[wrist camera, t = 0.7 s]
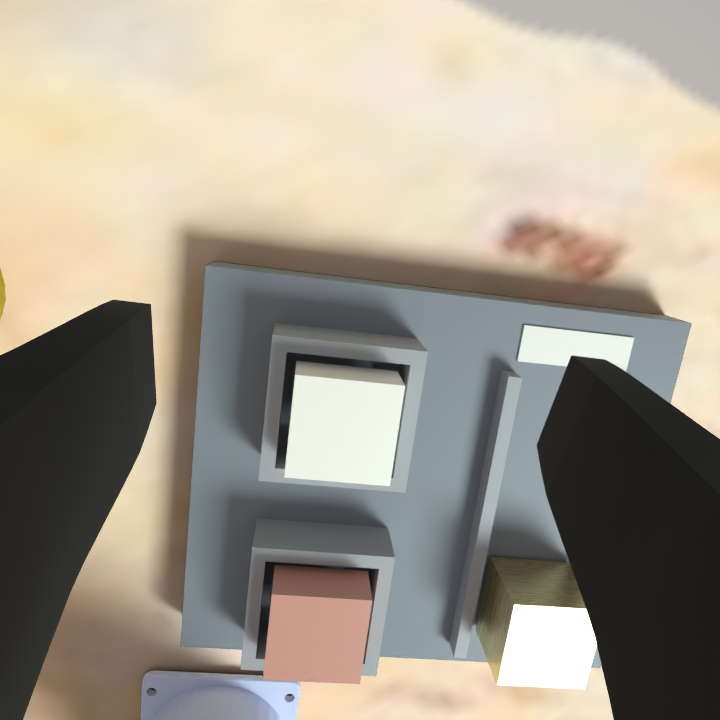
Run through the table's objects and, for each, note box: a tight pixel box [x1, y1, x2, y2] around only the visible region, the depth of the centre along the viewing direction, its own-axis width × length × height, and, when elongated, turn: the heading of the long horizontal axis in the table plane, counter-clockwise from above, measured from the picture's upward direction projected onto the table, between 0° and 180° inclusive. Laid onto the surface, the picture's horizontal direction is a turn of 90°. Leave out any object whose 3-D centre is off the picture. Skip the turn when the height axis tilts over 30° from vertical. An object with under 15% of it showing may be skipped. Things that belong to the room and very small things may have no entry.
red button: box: [263, 565, 372, 684], centre depth 25 cm, size 4×4×2 cm
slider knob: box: [475, 557, 597, 689], centre depth 27 cm, size 4×4×4 cm
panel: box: [180, 261, 691, 676], centre depth 27 cm, size 18×21×4 cm
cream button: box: [284, 361, 405, 486], centre depth 23 cm, size 4×4×2 cm
